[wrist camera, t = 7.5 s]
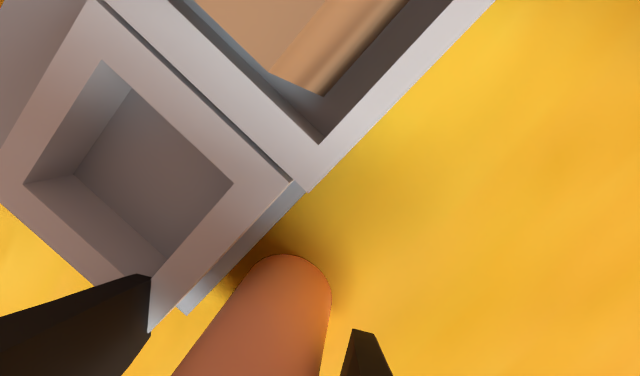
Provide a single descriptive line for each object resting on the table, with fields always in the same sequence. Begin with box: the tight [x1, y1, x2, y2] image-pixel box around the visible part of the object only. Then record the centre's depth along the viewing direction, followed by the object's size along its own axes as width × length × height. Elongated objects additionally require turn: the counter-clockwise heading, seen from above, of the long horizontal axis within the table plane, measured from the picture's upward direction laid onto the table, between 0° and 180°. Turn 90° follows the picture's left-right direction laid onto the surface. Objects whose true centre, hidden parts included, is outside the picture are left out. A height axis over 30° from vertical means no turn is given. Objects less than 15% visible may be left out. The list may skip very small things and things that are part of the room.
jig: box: [0, 0, 495, 333], centre depth 9 cm, size 10×14×3 cm
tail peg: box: [171, 254, 332, 376], centre depth 8 cm, size 3×3×6 cm
